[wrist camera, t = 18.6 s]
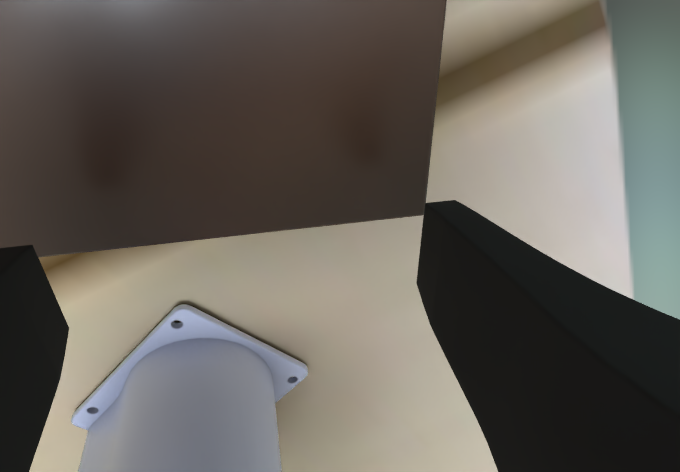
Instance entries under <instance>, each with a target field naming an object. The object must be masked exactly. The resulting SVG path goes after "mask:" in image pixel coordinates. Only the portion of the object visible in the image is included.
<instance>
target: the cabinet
mask: <svg viewBox="0 0 680 472" xmlns="http://www.w3.org/2000/svg"><path fill="white" fill-rule="evenodd" d="M446 1H447V0H0V248H5V247H15V246H24V245H33V247H34V249H35V252H36V254H37V256H38V257H46V256H55V255H64V254H74V253H83V252H92V251H101V250H110V249H119V248H128V247H137V246H147V245H156V244H165V243H174V242H183V241H192V240H201V239H210V238H219V237H229V236H238V235H247V234H256V233H265V232H274V231H283V230H292V229H302V228H311V227H320V226H329V225H338V224H347V223H356V222H365V221H374V220H384V219H393V218H402V217H411V216H420V215H424V209H425V203H426V194H427V184H428V175H429V165H430V155H431V146H432V136H433V127H434V117H435V107H436V98H437V88H438V78H439V69H440V59H441V49H442V40H443V30H444V21H445V11H446Z"/></svg>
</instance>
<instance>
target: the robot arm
mask: <svg viewBox="0 0 680 472" xmlns="http://www.w3.org/2000/svg"><path fill="white" fill-rule="evenodd" d="M417 286H418V289H419V292H420V295H421V298H422V302H423V305H424V308H425V311H426V313H427V316H428V319H429V322H430V325H431V327H432V329H433V331H434V333H435V336H436V338H437V340H438V342H439V344H440V346H441V348H442V350H443V352H444V354H445V356H446V358H447V360H448V362H449V364H450V366H451V368H452V370H453V372H454V374H455V376H456V378H457V380H458V382H459V384H460V386H461V388H462V390H463V392H464V394H465V396H466V398H467V400H468V402H469V404H470V406H471V408H472V410H473V412H474V414H475V416H476V418H477V420H478V423H479V425H480V427H481V429H482V432H483V434H484V436H485V438H486V440H487V443H488V445H489V448H490V451H491V453H492V456H493V459H494V461H495V464H496V467H497V469H498V472H680V320H679V319H677V318H674V317H672V316H669V315H667V314H665V313H662V312H660V311H657V310H655V309H653V308H650V307H648V306H646V305H644V304H642V303H639V302H637V301H635V300H633V299H631V298H628V297H626V296H624V295H622V294H619V293H617V292H615V291H613V290H611V289H609V288H607V287H605V286H603V285H601V284H599V283H597V282H595V281H593V280H591V279H589V278H587V277H585V276H583V275H582V274H580V273H578V272H576V271H574V270H572V269H570V268H568V267H567V266H565V265H563V264H561V263H559V262H558V261H556V260H554V259H552V258H551V257H549V256H547V255H545V254H544V253H542V252H540V251H538V250H537V249H535V248H533V247H532V246H530V245H528V244H527V243H525V242H523V241H522V240H520V239H519V238H517V237H515V236H514V235H512V234H510V233H509V232H507V231H506V230H504V229H502V228H501V227H499V226H498V225H496V224H494V223H493V222H491V221H490V220H488V219H486V218H485V217H483V216H481V215H480V214H478V213H477V212H475V211H473V210H472V209H470V208H468V207H467V206H465V205H463V204H461V203H459V202H457V201H455V200H451V201H442V202H432V203H425V209H424V218H423V228H422V237H421V247H420V256H419V266H418V275H417ZM175 320H178V321H181V322H179V323H176V322H173V321H175ZM68 331H69V327H68V325H67V322H66V320H65V318H64V316H63V313H62V311H61V309H60V306H59V304H58V302H57V300H56V297H55V295H54V293H53V290H52V288H51V286H50V284H49V281H48V279H47V277H46V274H45V272H44V270H43V268H42V265H41V263H40V261H39V258H38V256H37V254H36V252H35V249H34V247H33V245H24V246H15V247H5V248H0V472H29V470H30V467H31V464H32V461H33V458H34V455H35V452H36V449H37V446H38V443H39V441H40V438H41V435H42V432H43V429H44V426H45V423H46V420H47V417H48V414H49V411H50V408H51V405H52V402H53V399H54V396H55V393H56V390H57V387H58V383H59V380H60V376H61V371H62V366H63V361H64V356H65V350H66V344H67V338H68ZM307 375H308V368H307V365H305V364H304V363H302V362H300V361H298V360H296V359H294V358H292V357H290V356H288V355H286V354H284V353H282V352H280V351H278V350H277V349H275V348H273V347H271V346H269V345H267V344H265V343H263V342H261V341H259V340H257V339H255V338H253V337H251V336H249V335H247V334H245V333H243V332H241V331H239V330H237V329H235V328H233V327H231V326H229V325H227V324H225V323H223V322H221V321H219V320H218V319H216V318H214V317H212V316H210V315H208V314H206V313H204V312H202V311H200V310H198V309H196V308H194V307H192V306H190V305H187V304H182V305H178V306H176V307H175V308H174V309H173V310H172V311H171V312H170V313H169V314H168V315H167V316H166V317H165V318H164V319H163V320H162V321H161V322H160V323H159V324H158V326H157V327H156V328H155V329H154V330H153V331H152V332H151V333H150V334H149V335H148V336H147V337H146V338H145V339H144V340H143V341H142V342H141V343H140V344H139V345H138V346H137V347H136V348H135V349H134V350H133V352H132V353H131V354H130V355H129V356H128V357H127V358H126V359H125V360H124V361H123V362H122V363H121V364H120V365H119V366H118V367H117V368H116V369H115V370H114V371H113V372H112V373H111V374H110V375H109V377H108V378H107V379H106V380H105V381H104V382H103V383H102V384H101V385H100V386H99V387H98V388H97V389H96V390H95V391H94V392H93V393H92V394H91V395H90V396H89V397H88V398H87V399H86V400H85V401H84V403H83V404H82V405H81V406H80V407H79V408H78V409H77V410H76V411H75V412H74V413H73V415H72V419H71V422H72V423H73V425H75V426H77V427H80V428H83V429H86V430H88V433H87V437H86V441H85V445H84V449H83V453H82V457H81V461H80V465H79V469H78V472H282V467H281V457H280V447H279V437H278V427H277V417H276V407H275V403H276V402H277V401H278V400H280V399H281V398H282V397H283V396H284V395H285V394H287V393H288V392H289V391H290V390H291V389H292V388H294V387H295V386H296V385H297V384H298V383H299V382H301V381H302V380H303V379H304V378H305V377H306V376H307ZM293 376H294V377H293Z"/></svg>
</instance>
